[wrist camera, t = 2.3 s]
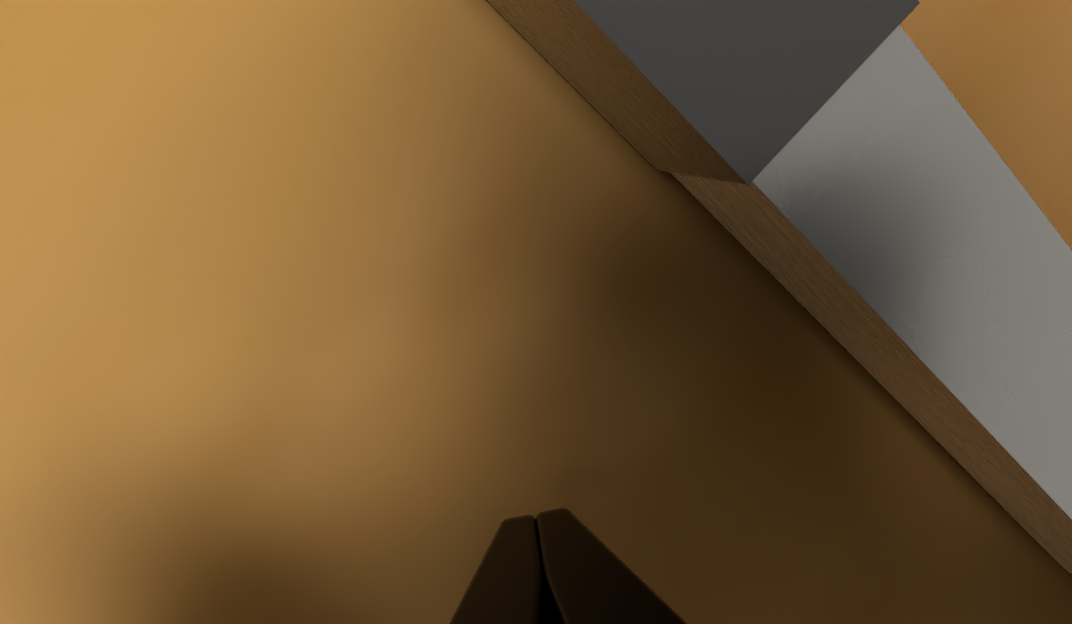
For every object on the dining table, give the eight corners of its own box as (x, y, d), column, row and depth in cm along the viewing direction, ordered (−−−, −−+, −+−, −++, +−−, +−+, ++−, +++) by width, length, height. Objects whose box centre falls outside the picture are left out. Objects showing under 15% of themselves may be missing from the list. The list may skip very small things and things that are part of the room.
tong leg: (1239, 603, 11) (1464, 739, 9) (1155, 667, 12) (1349, 818, 9) (508, -248, 6) (531, -521, 4) (393, -94, 7) (339, -247, 4)
